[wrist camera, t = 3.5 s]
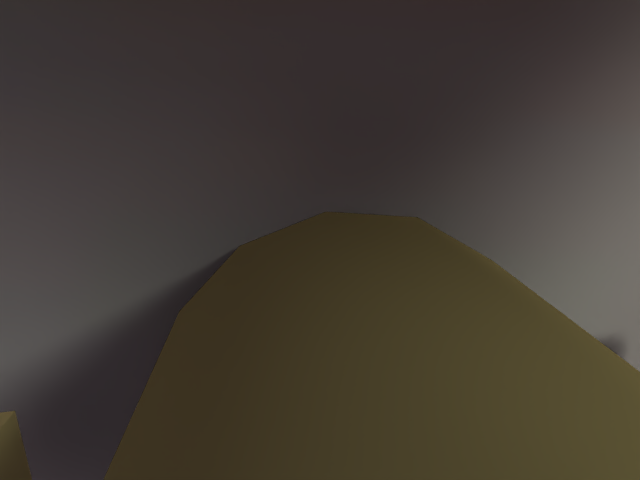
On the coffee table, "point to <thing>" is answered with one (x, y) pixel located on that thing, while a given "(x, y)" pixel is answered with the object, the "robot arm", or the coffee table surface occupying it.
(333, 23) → the coffee table surface
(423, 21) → the coffee table surface
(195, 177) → the coffee table surface
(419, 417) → the cup
